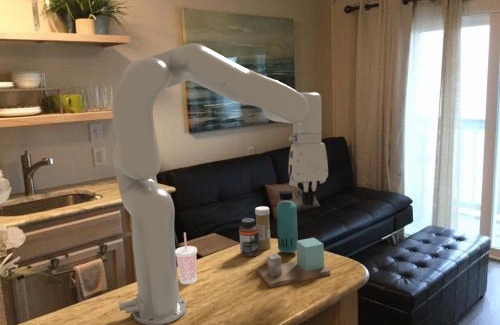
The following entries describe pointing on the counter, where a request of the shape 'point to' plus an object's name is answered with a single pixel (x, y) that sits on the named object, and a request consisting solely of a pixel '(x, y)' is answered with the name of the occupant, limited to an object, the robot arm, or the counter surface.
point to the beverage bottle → (287, 223)
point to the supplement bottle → (249, 238)
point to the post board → (287, 272)
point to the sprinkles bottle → (263, 227)
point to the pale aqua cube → (310, 254)
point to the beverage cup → (187, 263)
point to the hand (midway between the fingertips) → (308, 204)
